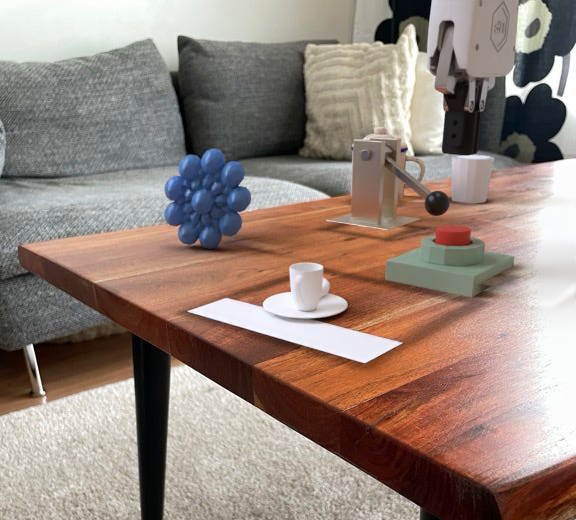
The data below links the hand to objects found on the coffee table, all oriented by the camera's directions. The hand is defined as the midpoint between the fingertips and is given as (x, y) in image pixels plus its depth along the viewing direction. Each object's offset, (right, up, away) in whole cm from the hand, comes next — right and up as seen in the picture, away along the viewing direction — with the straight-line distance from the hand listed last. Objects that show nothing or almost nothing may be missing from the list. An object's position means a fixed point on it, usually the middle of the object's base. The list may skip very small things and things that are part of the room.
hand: (459, 153), depth 72 cm
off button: (0, -8, +4) cm, 9 cm away
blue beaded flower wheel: (-27, -6, +19) cm, 33 cm away
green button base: (0, -12, +5) cm, 13 cm away
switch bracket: (-5, -1, +29) cm, 29 cm away
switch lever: (-2, +3, +24) cm, 24 cm away
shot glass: (+13, +7, +48) cm, 50 cm away
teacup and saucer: (-13, -16, -3) cm, 21 cm away
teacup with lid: (-1, +7, +47) cm, 47 cm away
